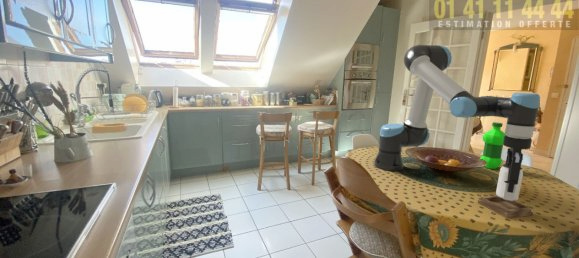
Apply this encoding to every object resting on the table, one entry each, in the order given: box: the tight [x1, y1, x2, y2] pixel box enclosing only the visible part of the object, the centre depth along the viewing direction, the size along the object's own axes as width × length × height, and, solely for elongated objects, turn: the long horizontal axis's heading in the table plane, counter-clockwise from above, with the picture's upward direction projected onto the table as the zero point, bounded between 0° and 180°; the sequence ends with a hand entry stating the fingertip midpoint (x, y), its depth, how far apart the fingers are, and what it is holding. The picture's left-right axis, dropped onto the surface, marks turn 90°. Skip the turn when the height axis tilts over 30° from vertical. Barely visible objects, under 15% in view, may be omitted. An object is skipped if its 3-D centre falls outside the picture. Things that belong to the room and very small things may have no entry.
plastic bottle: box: [479, 121, 506, 170], centre depth 139 cm, size 10×10×25 cm
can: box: [495, 163, 524, 201], centre depth 95 cm, size 6×6×12 cm
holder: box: [477, 195, 534, 219], centre depth 97 cm, size 12×12×2 cm
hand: (506, 195), depth 96 cm, fingers closed on can, 6 cm apart
